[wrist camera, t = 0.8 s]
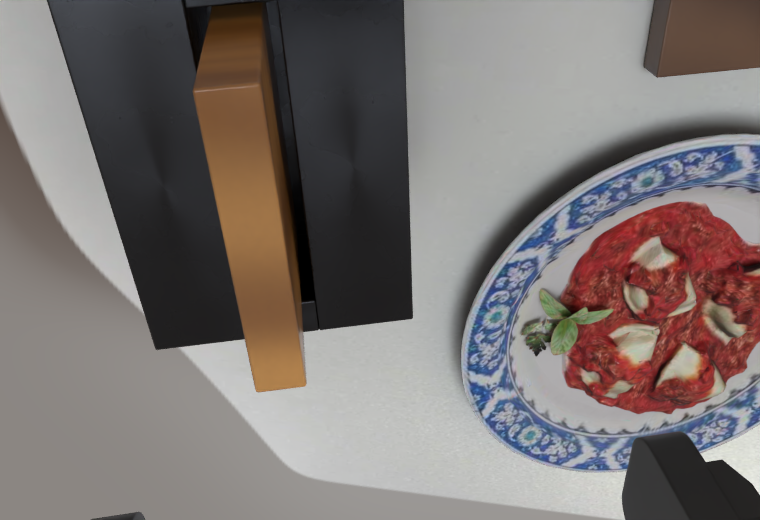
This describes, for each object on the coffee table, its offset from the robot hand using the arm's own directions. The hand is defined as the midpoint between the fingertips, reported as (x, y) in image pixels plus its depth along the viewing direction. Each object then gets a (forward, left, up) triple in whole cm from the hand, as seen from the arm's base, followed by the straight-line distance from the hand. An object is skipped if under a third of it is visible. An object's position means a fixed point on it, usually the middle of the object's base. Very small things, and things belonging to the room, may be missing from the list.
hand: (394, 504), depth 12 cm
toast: (+1, -2, -19) cm, 19 cm away
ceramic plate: (+19, +20, -25) cm, 37 cm away
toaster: (+1, -2, -25) cm, 25 cm away
